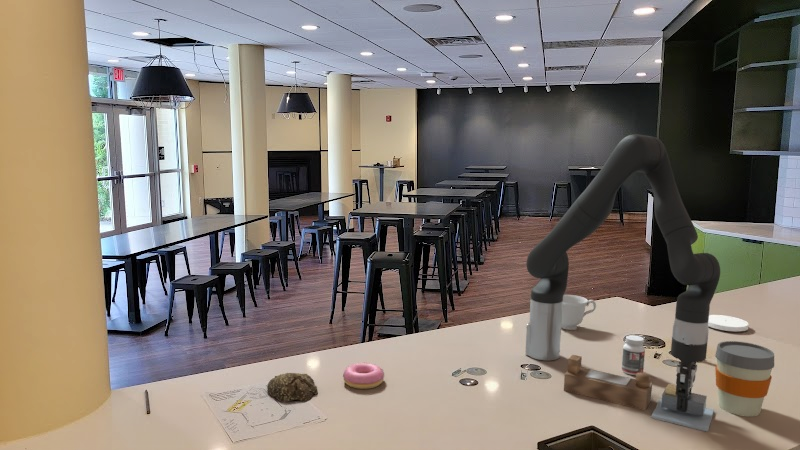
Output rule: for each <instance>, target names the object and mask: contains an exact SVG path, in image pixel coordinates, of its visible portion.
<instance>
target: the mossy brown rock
mask: <svg viewBox="0 0 800 450" xmlns="http://www.w3.org/2000/svg"><path fill="white" fill-rule="evenodd" d="M266 388H267V392H268V394H270V396H271V398H275V399H276V400H278V402H282V403H286V402H287V403H288V402H292V401H293V402H294V401H301V402H305V401H306V402H307V401H309V400H311V399H312V398H313V397H314V396H315V395H317V394H318V386H317V385H316V384H315V381H314V379H313V378H312V377H311V375H308V373H300V372H299V373H296V372H286V373H282V374H279V375H274V377H273V378H271V379H270V380H269V382H268V383H267V387H266Z"/></svg>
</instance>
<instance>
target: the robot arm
mask: <svg viewBox="0 0 800 450" xmlns="http://www.w3.org/2000/svg"><path fill="white" fill-rule="evenodd" d="M634 173H643V175H644V176H645V178H646V179H647V180H648V182H649V184H650V186H651V189H652V192H653V199H654V201H653V202H654V204H653V205H654V206H653V207H654V208H653V209H654V216H655V220H656V224H657V225H658V228H659V230H660V232H661V234H662V237H663V239H664V241H665V243H666V248H667V254H668V255H667V256H668V261H669V266H670V271H671V273H672V275H673V276H674V278H675V279H676V280H677V282H679V283H680V284H682V285H683V286H688V288H687V289H686V290H685V291H683V292H682V293H680V294H679V295H678V296H677V298H676V305H675V306H676V307H675V314H674V316H675V317H674V321H673V326H672V334H671V335H672V336H671V348H670V354H671V356H672V357H673V358H675V359H678V360H679V361H678V364H677V365H676V380H675V384H676V392H675V394H676V395H677V407H676V409H677V410H678V411H682V412H686V411H687V404H688V397H689V392H690V393H692V389H693V388H694V382H695V380H696V375H697V371H698V364H697V363H701V362H704V361H705V360H706V358H707V349H708V340H709V326H708V320H709V315H710V306H711V303H712V300H713V298H714V296H715V293H716V290H717V288H718V284H719V281H720V278H721V277H720V276H721V267H720V266H721V264H720V263H719V262H720V261H719V260H718V259H717V258H716V256H715V255H713V254H712V253H708V252H700V253H694V251H693V248H692V245H694V244H695V243H696V242H697V240H698V238H699V236H698V232H697V230H696V227H695V226H694V223H693V221H692V219H691V217H690V215H689V213H688V210H687V209H686V207H685V205H684V202H683V199H682V198H681V194H680V191H679V188H678V186H677V183H676V180H675V175H674V172H673V169H672V166H671V161H670V158H669V155H668V152H667V149H666V146H665V144H664V143H663V141H662V140H661V139H660V138H657V137H655V136H652V135H646V134H645V135H644V134H638V133H635V134H629V135H626V136H625V137H623V138H622V139H621V140H620V141H619V142H618V144H617V145H616V146H615V148H614V149H613V150H612V152H611V154H610V155H609V157H608V158H607V159H606V162H605V163H604V164H603V166H602V167H601V169H600V170H599V172H598V173H597V175H596V176H595V177H594V178H593V179H592V180H591V182H590V183H589V184H588V186H586V188H585V189H584V190H583V192H582V193H581V194H580V195H579V196H578V197H577V198H576V199H575V201H574V202H573V203H572V205H571V206H570V207H569V208H568V209H567V211H566V212H565V214H564V215H562V217H561V219H559V221H558V222H557V223H556V224H555V226H554V227H553V228H552V229H551V231H550V232H549V233H548V234H547V235H546V236H544V238H543V239H541V241H540V242H538V243H537V244H536V246H534V247H533V248H532V249H531V250H530V251H529V254H528V255H527V258H526V269H527V271H528V273H529V275H530V276H532V278H536V279H539V282H537V284H536V285H534V286H533V287H532V289H531V291H530V301H529V303H530V305H529V306H530V307H529V322H528V323H527V324H526V335H525V336H526V337H525V355H526V356H528V357H531V358H532V359H534V360H538V361H539V360H540V361H546V362H547V361H549V362H550V361H556V360H558V359H559V358H560V353H561V337H562V336H561V335H562V328H561V322H562V305H563V295H565V293H566V291H567V286H568V276H569V267H570V264H569V263H570V262H569V256H568V253H567V252H568V251H569V250H570V249H571V248H572V247H574V246H576V245H578V244H579V243H580V242H582V241H583V240H585V239H587V238H588V237H589V236H590V235H592V234H593V233H594V232H595V231H597V230H598V229H599V228H600V227H601V225H602V224H603V223H604V222H605V221H606V220H607V219H608V217H609V216H610V215H611V214H612V210H613V208H614V205H615V204H614V203H615V199H616V196H617V193H618V191H619V189H620V188H621V187H622V185H623V184H624V183H625V182H626V181H627V180H628V179H629V177H632V175H633V174H634ZM680 388H681V390H680Z"/></svg>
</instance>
